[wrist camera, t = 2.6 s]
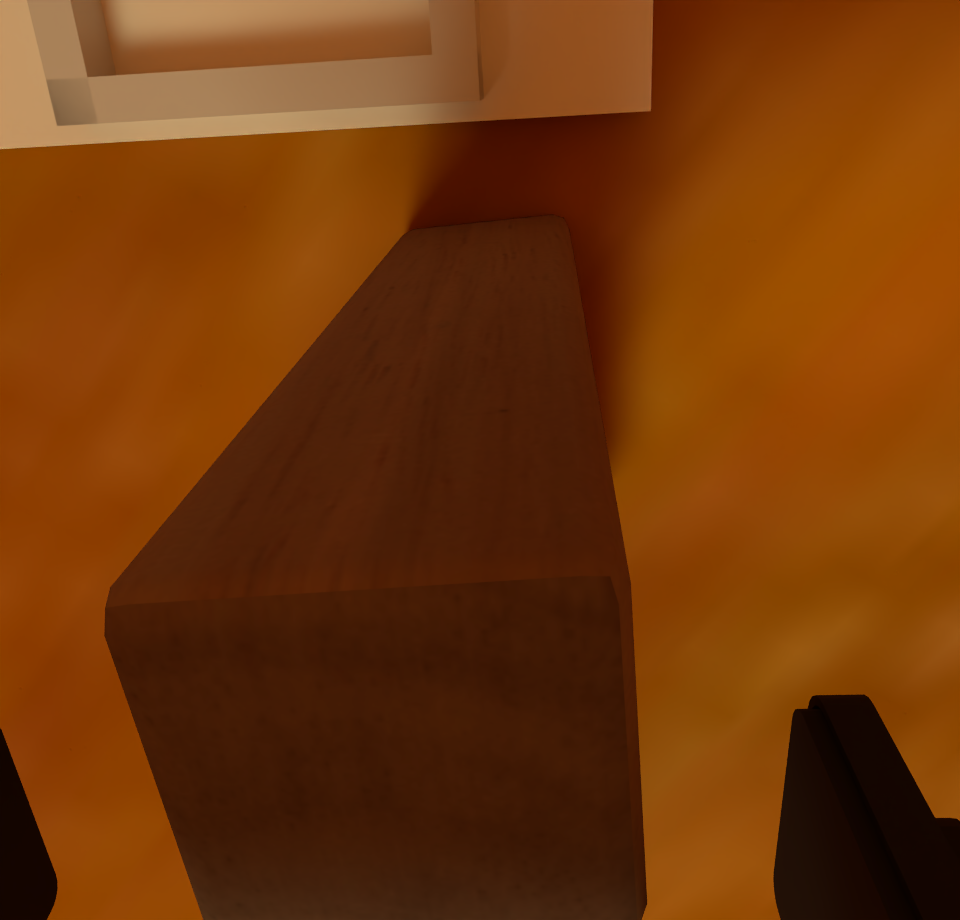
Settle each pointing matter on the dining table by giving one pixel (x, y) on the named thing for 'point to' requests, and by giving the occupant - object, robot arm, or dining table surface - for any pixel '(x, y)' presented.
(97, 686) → the dining table surface
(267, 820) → the wooden block
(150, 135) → the dock tray
